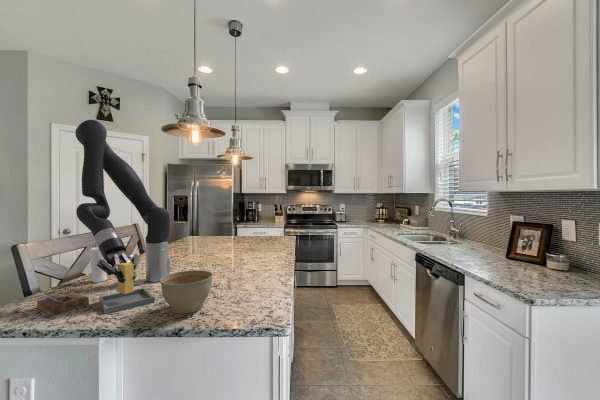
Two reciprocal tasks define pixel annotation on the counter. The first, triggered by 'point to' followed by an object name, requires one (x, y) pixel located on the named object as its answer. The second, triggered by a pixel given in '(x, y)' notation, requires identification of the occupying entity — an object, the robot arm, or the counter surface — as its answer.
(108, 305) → the tray
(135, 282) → the spoon
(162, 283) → the planter bowl
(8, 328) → the counter surface
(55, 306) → the brown wooden compartment tray
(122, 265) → the yellow rectangular block
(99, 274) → the drinking glass
